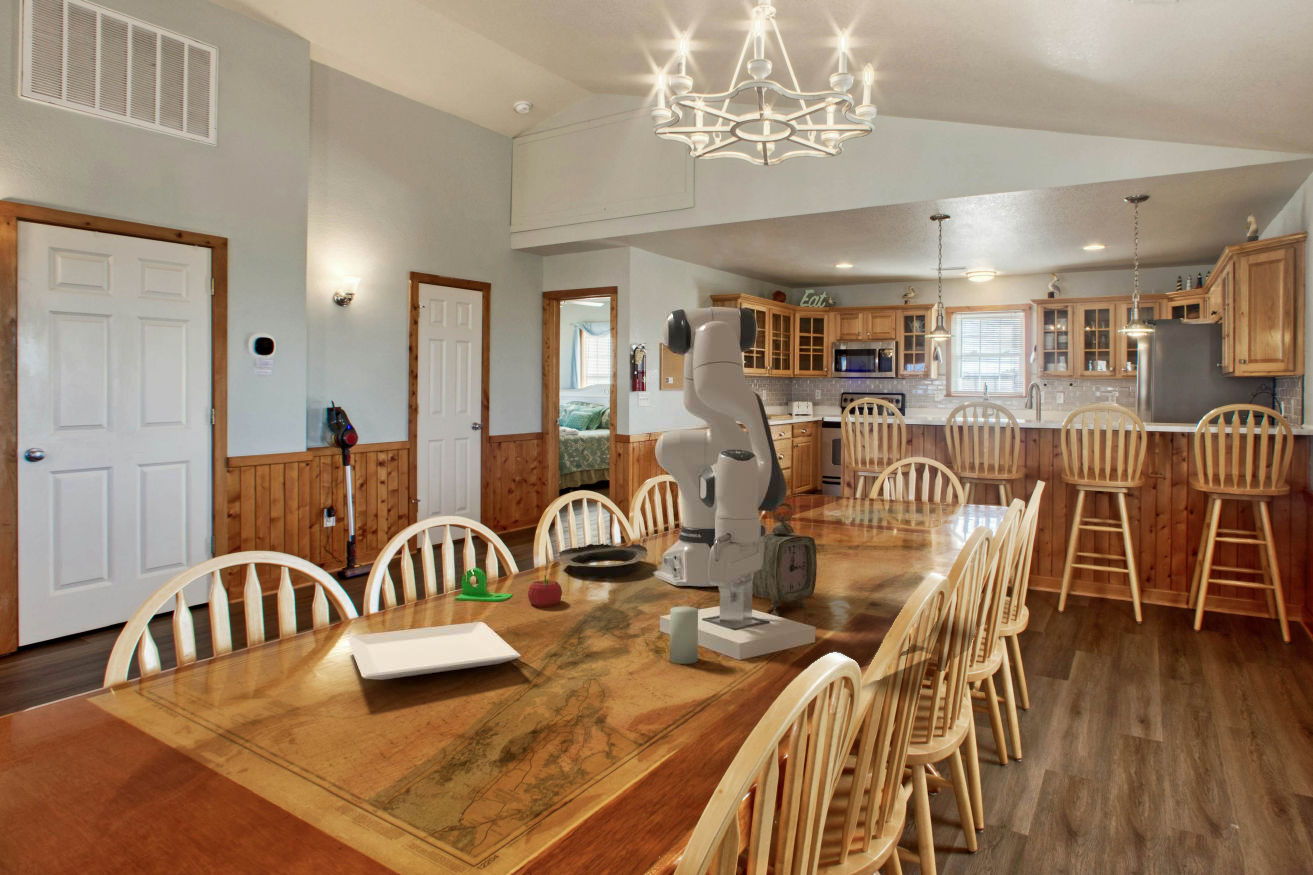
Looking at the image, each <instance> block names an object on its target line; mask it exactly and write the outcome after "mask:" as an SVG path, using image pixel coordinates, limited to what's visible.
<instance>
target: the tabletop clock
mask: <svg viewBox="0 0 1313 875" xmlns="http://www.w3.org/2000/svg"><path fill="white" fill-rule="evenodd" d="M780 507H788V508H789V510H790V514H789V516H787V517H786V516H785V515H783V514H782V515H780V517H779V518H777V517H776V516H775V512H776V510H777V509H778V508H780ZM771 512H772V513H771V514H772V518H773V520H774V521H776V522H777V523H775V524H774V525H773V527H772V528H771V531H770V533H766V536H764V561H763V565H762V568H761V569H760V570H758V571H756V572H754V578H753V581H752V595H754V596H755V597H758V598H759V597H760V598H764V599H768V600H770V601H771V603H772V604H770V608H773V611H771V613H770V614H771V615H774V616H778V617H779V612H778V611H777V608H778V605H777V602H782V603H791V602H792V603H793V602H799V604H800V605H801V608H804V609H807V608H809V605H808V604H807V603H804V601H803V600H804V599H807V598H809V597H810V596H811V595H813V594H814V593H815V592H814V591H815V587H816V583H817V581H816V580H817V567H818V563H817V561H818V560H817V546H816V541H815V539H814V538H813V537H811V536H806V535H800V534H794V533H795V531H794V527H793V526H792V525H791V524H789V523H787V521H789V520H791V518H792V517H793V513H794V510H793V507H792V506H791V504H789V503H788V502H787V503H786V502H782V503H781V504H780V505H779V506H778V507H777V508H776V509H774V510H773V511H771Z"/></svg>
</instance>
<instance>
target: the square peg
mask: <svg viewBox="0 0 1313 875" xmlns="http://www.w3.org/2000/svg"><path fill="white" fill-rule="evenodd" d="M730 592H731V595H733V599H732V601H733V603H732V604H730V605H728V606H727V605H722V603H721V594H720V593H719V606H720V623H722V624H726V625H729V626H732V627H738V626H743V625H748V624H752V609H753V593H752V581H748V580H743V579H739V580H737V581H734V582H732V583H731V588H730Z"/></svg>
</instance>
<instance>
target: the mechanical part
mask: <svg viewBox="0 0 1313 875" xmlns="http://www.w3.org/2000/svg"><path fill="white" fill-rule="evenodd" d="M472 569H473V572H474V575H473V574H472V572H471V570H470V569H469V571H468V570H466V572H467V582H466V575H465V572H464V573H463V575H462V577H461V594H460V595H458V596H456V597H455V598H454V599H455V601H465V602H466V601H469V602H489V603H490V602H491V603H496V602H503V601H504V602H505V601H507V600H509V599H510V598H511V597H512V596H513V595H514V594H513V593H491V592H489V591H488V578H487V574H486V572H484V570H482V569H481V568H478V567H474V568H472ZM472 577H474V578H476V579H477V581H478V583H477V585H473V584H472V583H471V578H472ZM462 589H464V590H462Z"/></svg>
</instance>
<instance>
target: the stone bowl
mask: <svg viewBox="0 0 1313 875" xmlns="http://www.w3.org/2000/svg"><path fill="white" fill-rule="evenodd" d="M558 554H559V555H558V557H559V558H557V560H558V561H559V562H561V563H562V564H563V565H568V566H571V571H572V572H573V573H574V574H576V575H579V576H585V577H592V578H593V577H596V578H597V577H599V578H605V577H606V578H607V577H609V578H610V577H620V576H624V575H625V576H627V575H629V574H631V573H633V572H634V571H636V569H637V567H638V562H639V561H641V560H645V559H646V558H647V557H648V555H649V554H648V549H647V547H646V546H643V545H641V544H640V543H637V544H636V543H633V544H631V545H626V546H624V547H623V546H617V545H610V544H609V543H606V544H605V543H600V544H597V543H596V544H593V543H590V544H587V545H585V546H578V547H572V548H571V547H570V548H568V549H563V550H561V551H560V552H558ZM605 560H607V561H621V563H620V562H618V563H613V564H612V563H611V564H588V563H585V562H590V561H591V562H592V561H605ZM622 561H623V562H622Z"/></svg>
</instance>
